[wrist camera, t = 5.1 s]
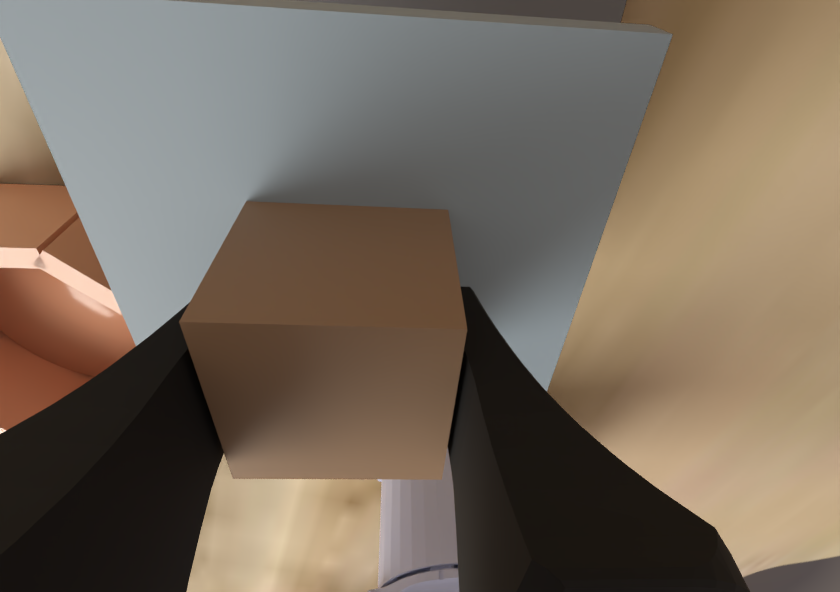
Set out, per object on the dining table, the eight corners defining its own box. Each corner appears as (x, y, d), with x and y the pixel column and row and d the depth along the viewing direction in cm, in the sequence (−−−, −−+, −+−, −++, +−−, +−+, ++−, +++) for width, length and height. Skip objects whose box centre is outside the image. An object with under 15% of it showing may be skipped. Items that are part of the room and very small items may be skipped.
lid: (650, 24, 9) (827, 100, 5) (526, 406, 17) (565, 553, 13) (17, -19, 9) (-303, 32, 5) (182, 401, 16) (112, 555, 12)
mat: (642, -76, 14) (647, -76, 14) (541, 293, 23) (543, 298, 22) (160, -110, 13) (154, -111, 13) (246, 286, 22) (244, 291, 22)
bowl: (195, 190, 19) (148, 251, 15) (246, 383, 26) (221, 455, 22) (-112, 179, 18) (-235, 241, 15) (27, 380, 25) (-34, 454, 22)
